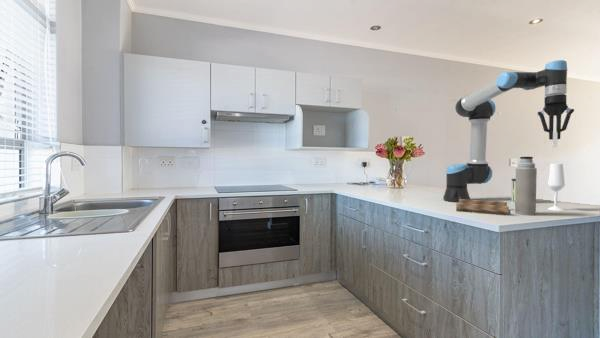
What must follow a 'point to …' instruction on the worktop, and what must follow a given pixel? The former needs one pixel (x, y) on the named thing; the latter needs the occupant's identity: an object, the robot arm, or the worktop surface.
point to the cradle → (482, 207)
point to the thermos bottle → (525, 187)
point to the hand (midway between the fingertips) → (554, 146)
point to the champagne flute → (556, 182)
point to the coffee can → (513, 189)
